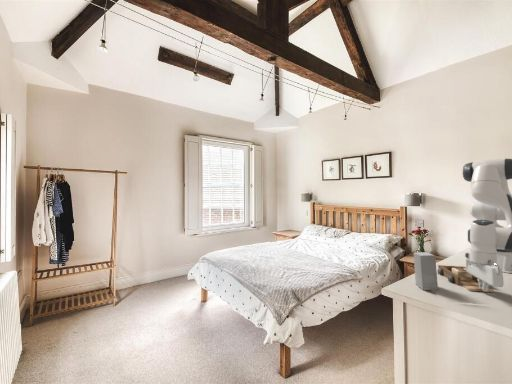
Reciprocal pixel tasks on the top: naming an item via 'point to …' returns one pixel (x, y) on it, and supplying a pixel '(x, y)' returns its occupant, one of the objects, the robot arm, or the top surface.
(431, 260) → the skincare box
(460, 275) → the block
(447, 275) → the cart bed
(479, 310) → the top surface
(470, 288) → the tailgate
